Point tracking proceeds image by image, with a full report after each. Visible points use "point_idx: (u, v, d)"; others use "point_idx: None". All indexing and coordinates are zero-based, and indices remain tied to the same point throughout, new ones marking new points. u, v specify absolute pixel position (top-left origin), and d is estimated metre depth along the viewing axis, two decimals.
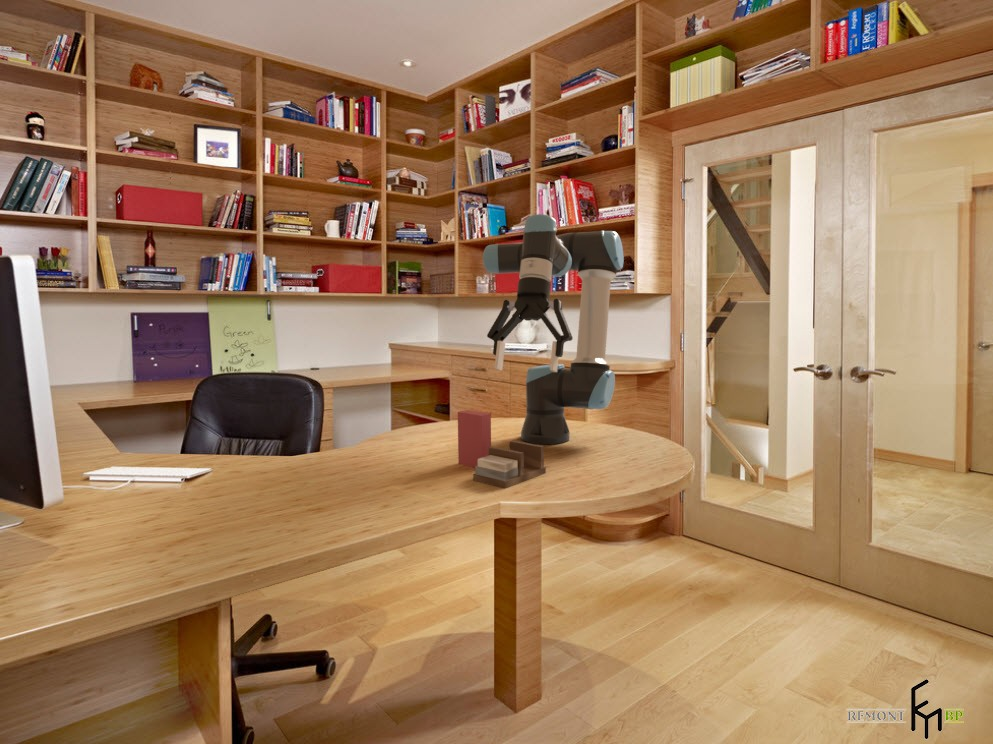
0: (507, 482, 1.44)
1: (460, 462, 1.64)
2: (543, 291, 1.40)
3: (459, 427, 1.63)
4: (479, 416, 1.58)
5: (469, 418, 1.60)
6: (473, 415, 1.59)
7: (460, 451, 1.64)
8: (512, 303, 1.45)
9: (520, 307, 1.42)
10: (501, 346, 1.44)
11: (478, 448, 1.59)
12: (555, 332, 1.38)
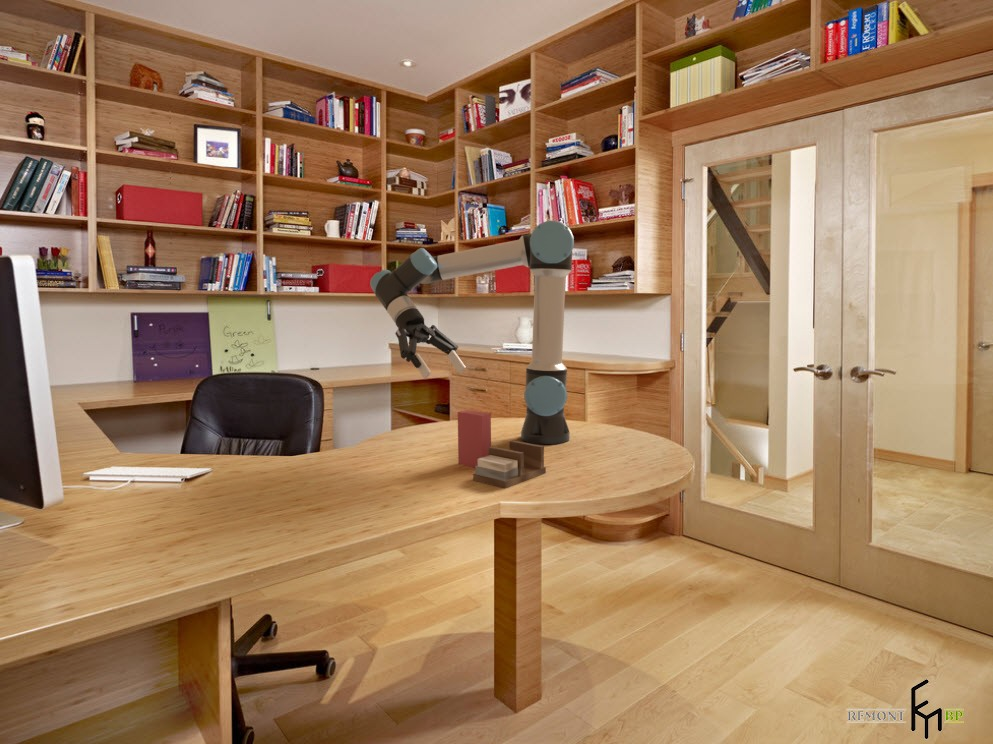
0: (507, 482, 1.44)
1: (460, 462, 1.64)
2: None
3: (459, 427, 1.63)
4: (479, 416, 1.58)
5: (469, 418, 1.60)
6: (473, 415, 1.59)
7: (460, 451, 1.64)
8: None
9: None
10: (450, 357, 1.74)
11: (478, 448, 1.59)
12: None
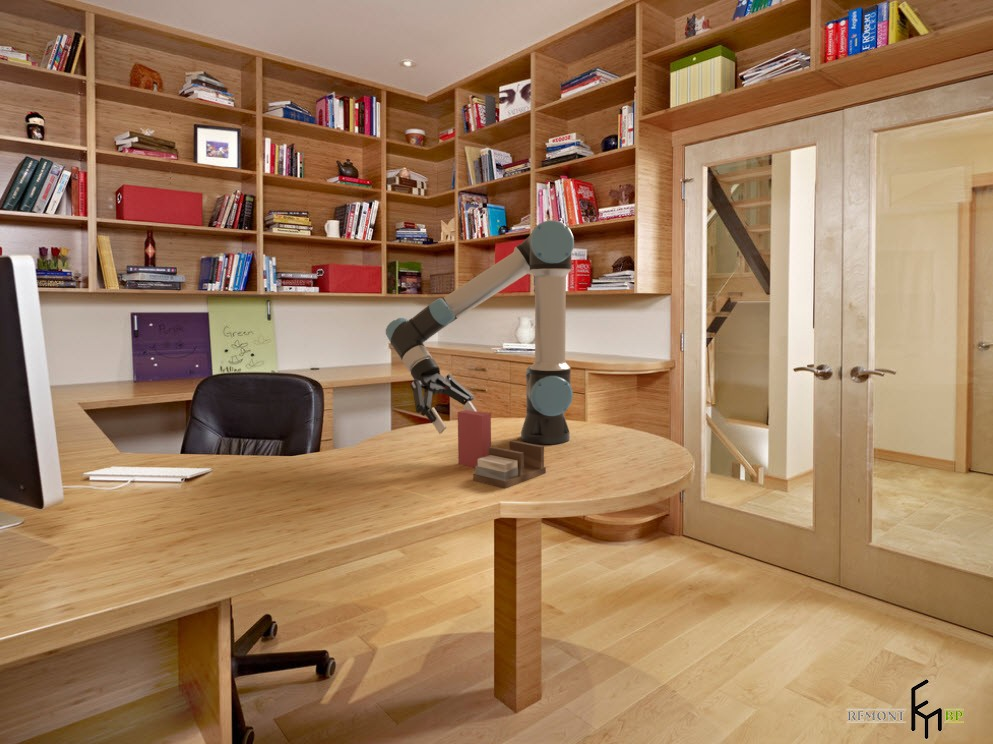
0: (507, 482, 1.44)
1: (460, 462, 1.64)
2: None
3: (459, 427, 1.63)
4: (479, 416, 1.58)
5: (469, 418, 1.60)
6: (473, 415, 1.59)
7: (460, 451, 1.64)
8: None
9: None
10: (466, 408, 1.71)
11: (478, 448, 1.59)
12: None
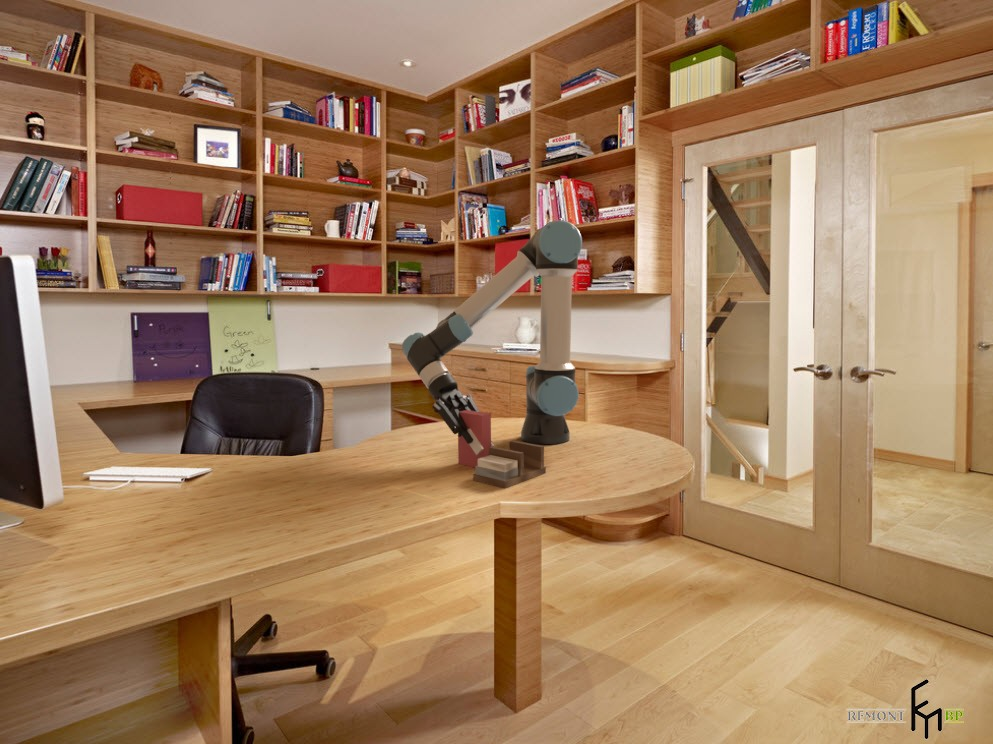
0: (507, 482, 1.44)
1: (460, 462, 1.64)
2: (433, 396, 1.66)
3: None
4: (479, 416, 1.58)
5: (469, 418, 1.60)
6: (473, 415, 1.59)
7: (460, 451, 1.64)
8: None
9: None
10: None
11: None
12: None
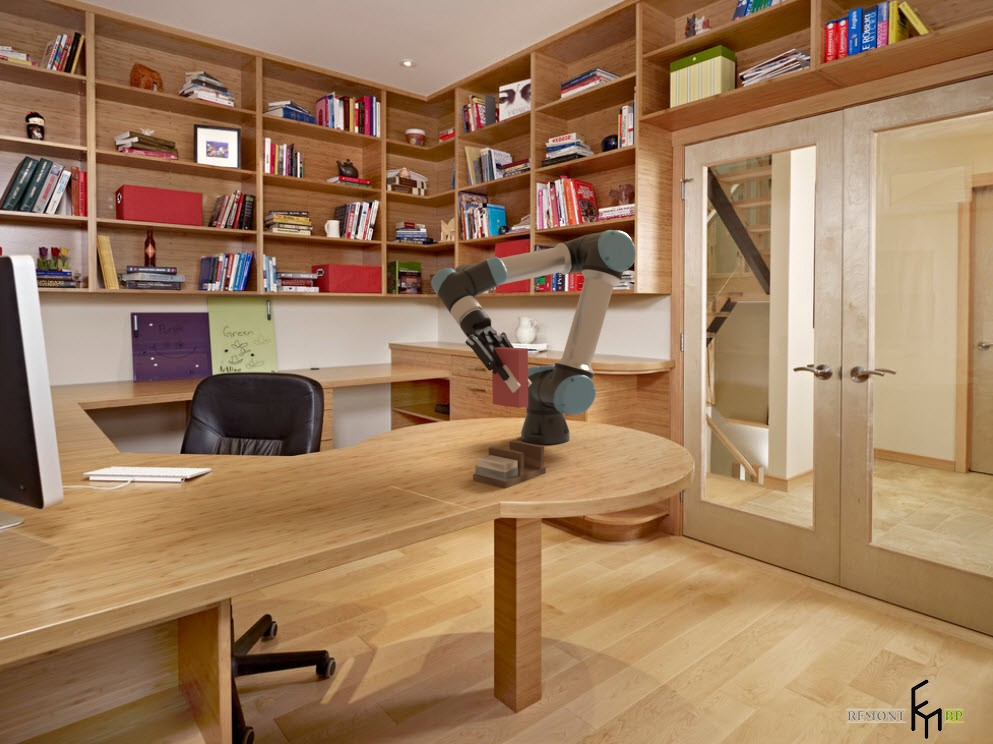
0: (507, 482, 1.44)
1: (494, 402, 1.54)
2: (465, 333, 1.56)
3: None
4: (515, 350, 1.47)
5: (504, 354, 1.50)
6: (509, 350, 1.49)
7: (494, 390, 1.53)
8: None
9: None
10: None
11: None
12: None
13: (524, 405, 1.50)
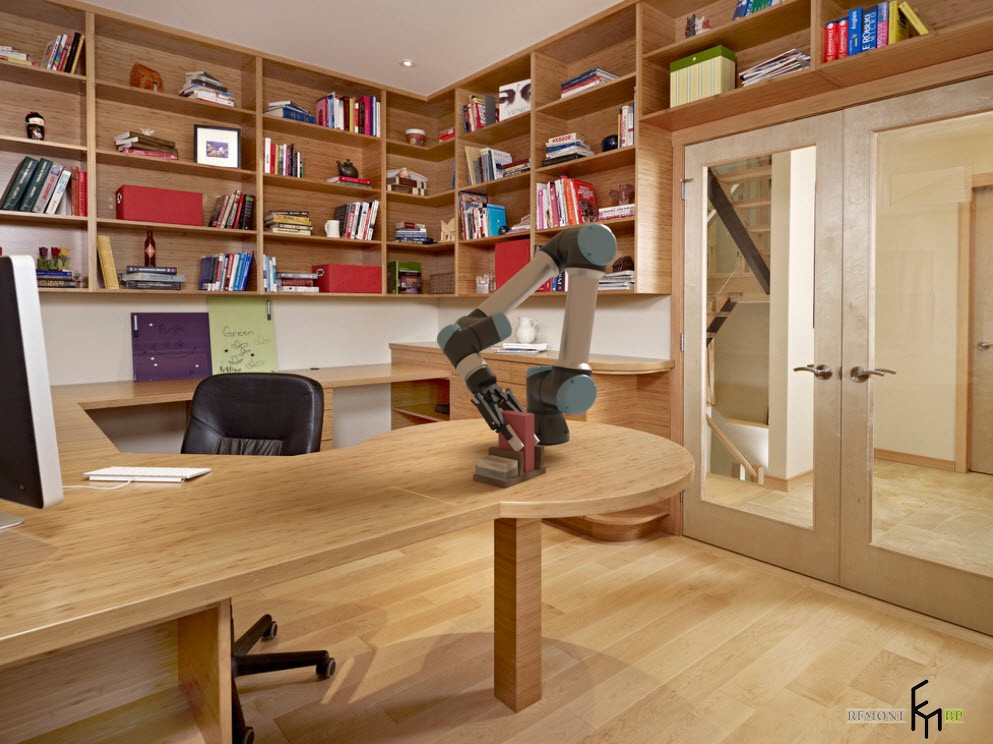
0: (507, 482, 1.44)
1: None
2: (471, 391, 1.57)
3: None
4: (522, 416, 1.49)
5: (511, 419, 1.51)
6: (516, 415, 1.50)
7: None
8: None
9: None
10: None
11: (521, 450, 1.50)
12: None
13: (530, 469, 1.52)
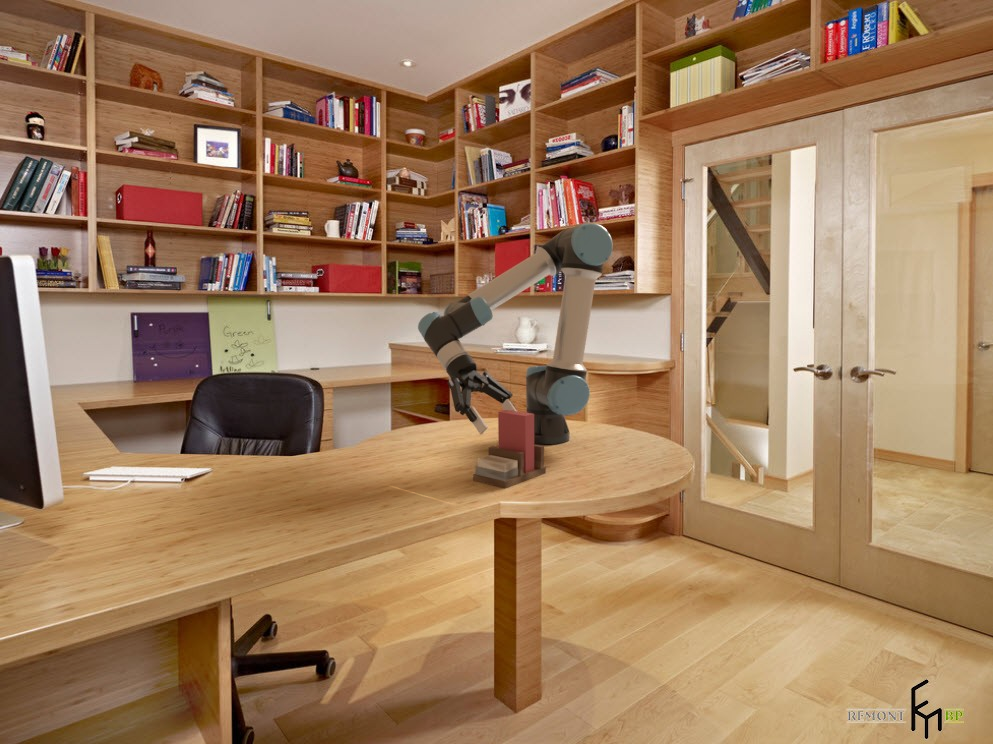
0: (507, 482, 1.44)
1: None
2: None
3: (500, 428, 1.54)
4: (522, 416, 1.49)
5: (511, 419, 1.51)
6: (516, 415, 1.50)
7: None
8: None
9: None
10: (505, 406, 1.62)
11: (521, 450, 1.50)
12: None
13: (530, 469, 1.52)
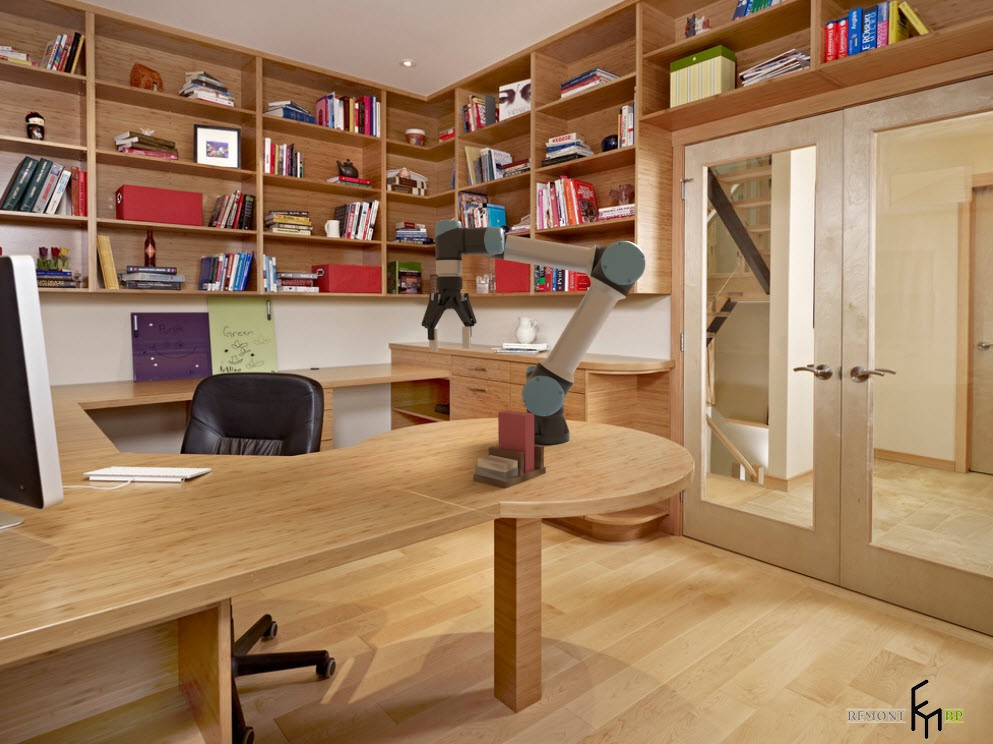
0: (507, 482, 1.44)
1: None
2: (436, 287, 1.76)
3: (500, 428, 1.54)
4: (522, 416, 1.49)
5: (511, 419, 1.51)
6: (516, 415, 1.50)
7: None
8: None
9: None
10: (464, 330, 1.84)
11: (521, 450, 1.50)
12: None
13: (530, 469, 1.52)
